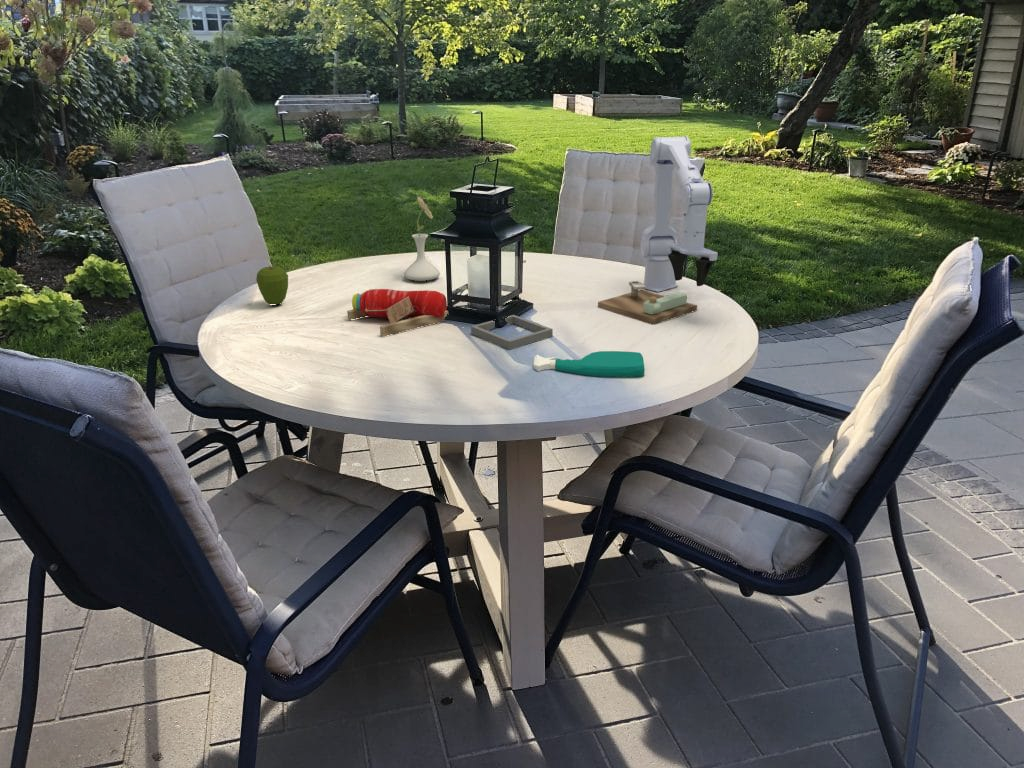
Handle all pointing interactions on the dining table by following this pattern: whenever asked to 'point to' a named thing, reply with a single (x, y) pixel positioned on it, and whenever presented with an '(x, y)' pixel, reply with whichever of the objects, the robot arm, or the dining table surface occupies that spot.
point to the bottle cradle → (400, 322)
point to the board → (634, 305)
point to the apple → (273, 284)
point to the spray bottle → (597, 364)
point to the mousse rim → (539, 334)
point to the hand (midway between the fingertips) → (689, 282)
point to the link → (665, 303)
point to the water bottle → (400, 303)
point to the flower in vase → (421, 254)
